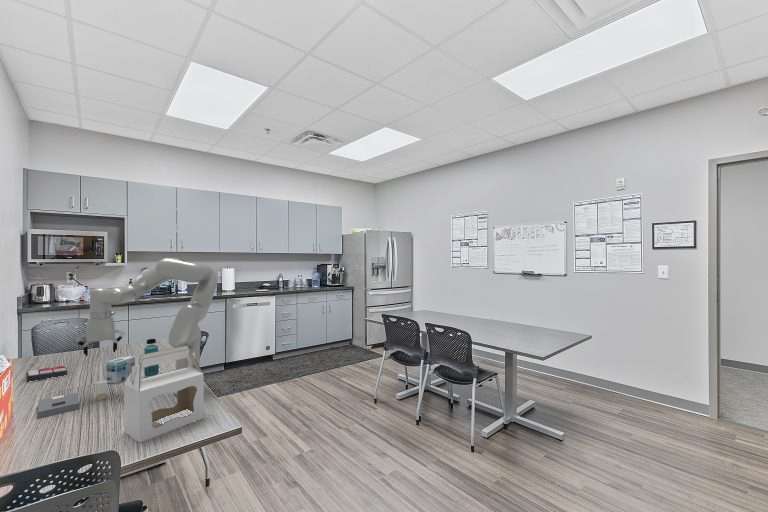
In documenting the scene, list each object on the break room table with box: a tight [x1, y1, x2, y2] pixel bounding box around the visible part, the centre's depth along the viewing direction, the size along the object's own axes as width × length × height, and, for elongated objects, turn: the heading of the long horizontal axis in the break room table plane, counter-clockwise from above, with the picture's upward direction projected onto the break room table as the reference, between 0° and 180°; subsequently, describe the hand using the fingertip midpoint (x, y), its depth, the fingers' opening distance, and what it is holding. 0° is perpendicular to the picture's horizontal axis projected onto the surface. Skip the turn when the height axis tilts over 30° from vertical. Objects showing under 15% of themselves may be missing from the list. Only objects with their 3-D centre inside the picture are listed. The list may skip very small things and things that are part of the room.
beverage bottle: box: [143, 338, 160, 377], centre depth 182 cm, size 6×7×20 cm
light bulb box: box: [105, 355, 136, 385], centre depth 179 cm, size 11×7×11 cm, turn 168°
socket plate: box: [37, 392, 80, 419], centre depth 146 cm, size 16×12×3 cm
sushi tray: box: [25, 365, 68, 383], centre depth 185 cm, size 11×4×15 cm
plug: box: [95, 379, 108, 401], centre depth 155 cm, size 5×4×7 cm
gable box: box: [123, 346, 205, 443], centre depth 130 cm, size 22×13×28 cm, turn 145°
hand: (100, 353), depth 156 cm, fingers open, 9 cm apart
